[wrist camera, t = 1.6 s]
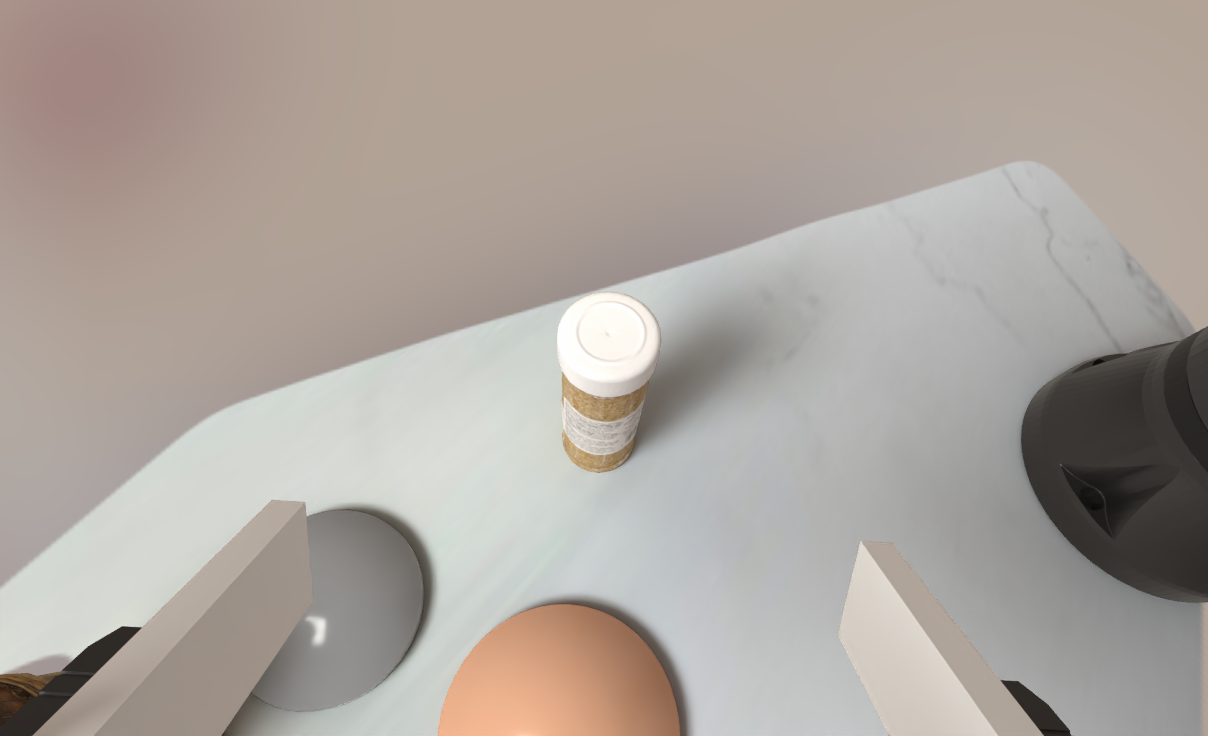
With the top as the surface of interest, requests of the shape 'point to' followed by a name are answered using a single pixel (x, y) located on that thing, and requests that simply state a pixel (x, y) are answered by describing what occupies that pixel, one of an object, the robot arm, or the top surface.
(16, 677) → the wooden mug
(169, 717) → the robot arm
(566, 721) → the terracotta coaster
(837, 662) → the top surface
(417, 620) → the slate coaster
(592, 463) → the sprinkles bottle
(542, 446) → the top surface
